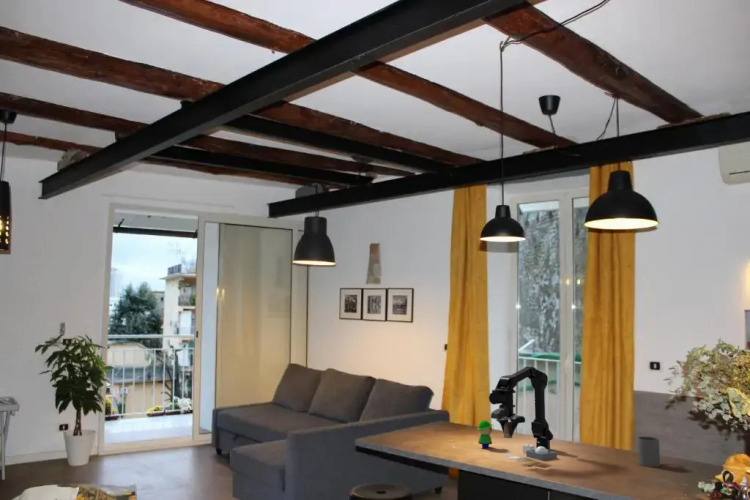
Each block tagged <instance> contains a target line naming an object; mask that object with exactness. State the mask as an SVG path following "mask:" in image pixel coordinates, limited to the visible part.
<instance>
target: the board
mask: <svg viewBox="0 0 750 500" xmlns="http://www.w3.org/2000/svg"><path fill="white" fill-rule="evenodd" d="M501 456H502V457H505V458H510V459H513V460H517V461H521V462H524V463H527V464H535V463H537V462H536V461H533V460H529V459H528V458H527V459H526V458H522V457H519V456H515V455H512V454H508V453H506V454H502V455H501ZM529 467H535V465H528V468H529Z"/></svg>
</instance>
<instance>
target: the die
mask: <svg viewBox="0 0 750 500" xmlns="http://www.w3.org/2000/svg"><path fill="white" fill-rule="evenodd" d="M528 450H535V445H533V444H527V443H526V444H523V445H522V453H523V454H525V455H526V451H528Z"/></svg>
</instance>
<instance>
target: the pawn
mask: <svg viewBox="0 0 750 500" xmlns="http://www.w3.org/2000/svg"><path fill="white" fill-rule="evenodd" d="M503 438H505V439H513V435H512V436H510V432H509V425H508V423H506V424H505V425H504V433H503Z"/></svg>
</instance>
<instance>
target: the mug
mask: <svg viewBox="0 0 750 500" xmlns="http://www.w3.org/2000/svg"><path fill="white" fill-rule="evenodd" d="M659 440H660V439H659V438H657V437H652V436H638V437H637V452H638V455H637V456H638V465H640V466H643V467H647V468H658V467H660V465H661V456H660V455H661V454H660V441H659Z"/></svg>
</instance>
